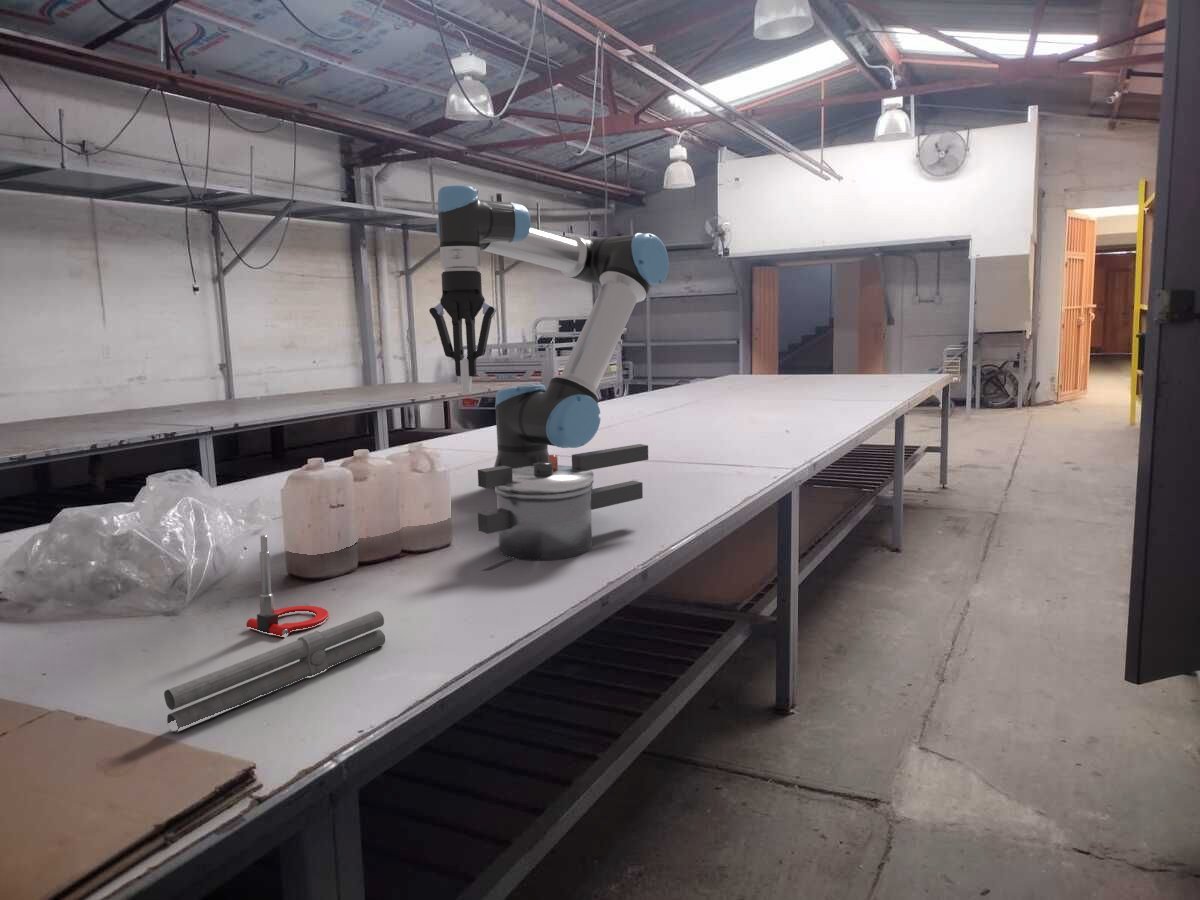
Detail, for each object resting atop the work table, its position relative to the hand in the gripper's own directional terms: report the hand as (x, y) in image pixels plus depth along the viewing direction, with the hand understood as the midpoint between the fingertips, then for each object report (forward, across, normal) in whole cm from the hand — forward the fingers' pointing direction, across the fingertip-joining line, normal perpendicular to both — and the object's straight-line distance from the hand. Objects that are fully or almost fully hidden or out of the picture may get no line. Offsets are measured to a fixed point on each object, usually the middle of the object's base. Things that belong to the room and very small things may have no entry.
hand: (467, 392), depth 159 cm
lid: (+13, +22, -19) cm, 32 cm away
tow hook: (+25, -11, -58) cm, 64 cm away
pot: (+24, +21, -20) cm, 38 cm away
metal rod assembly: (+25, -3, -75) cm, 79 cm away
